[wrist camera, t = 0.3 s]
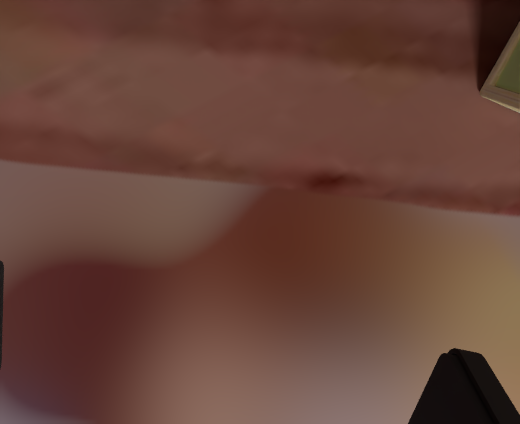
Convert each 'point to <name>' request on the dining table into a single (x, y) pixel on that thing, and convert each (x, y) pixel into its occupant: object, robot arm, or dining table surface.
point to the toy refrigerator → (506, 76)
